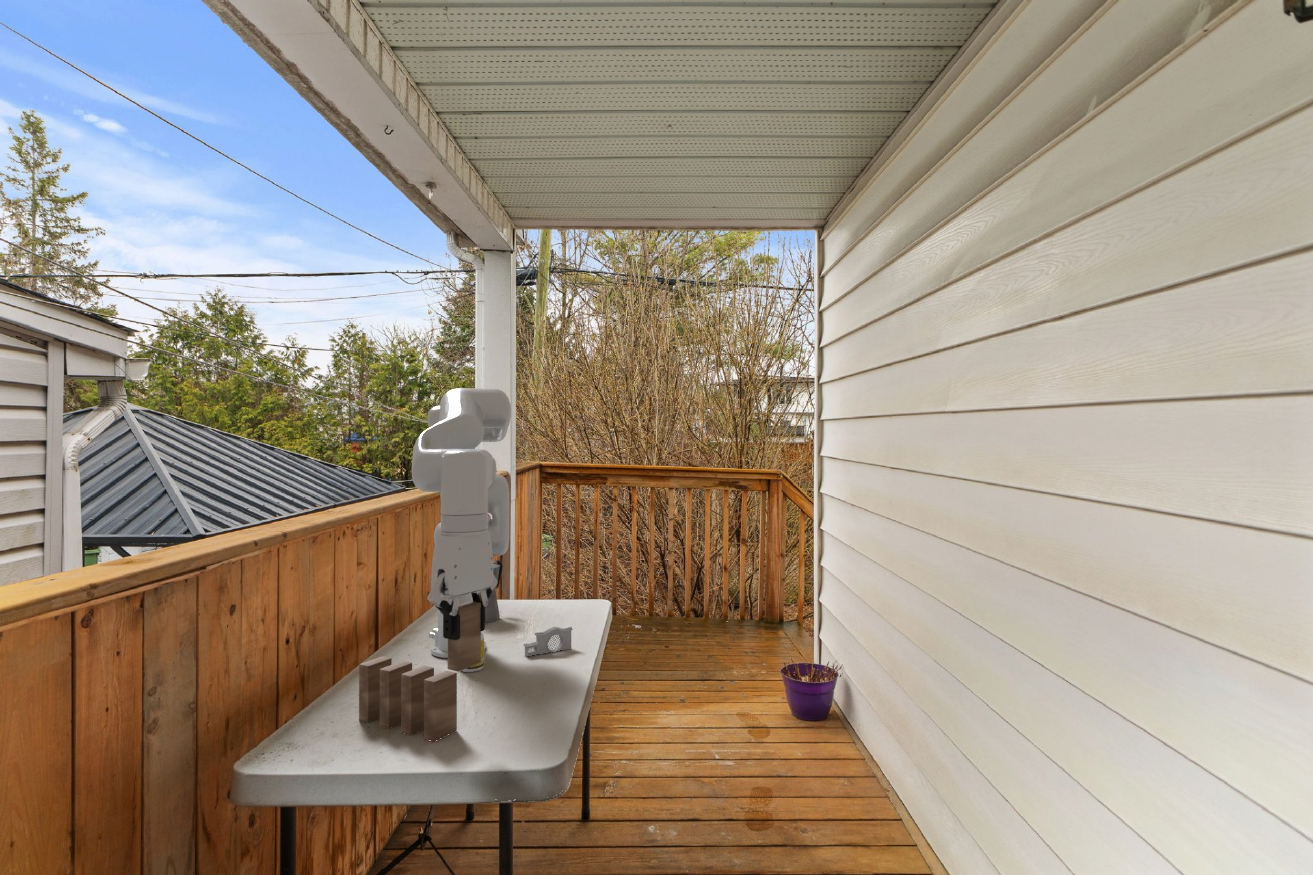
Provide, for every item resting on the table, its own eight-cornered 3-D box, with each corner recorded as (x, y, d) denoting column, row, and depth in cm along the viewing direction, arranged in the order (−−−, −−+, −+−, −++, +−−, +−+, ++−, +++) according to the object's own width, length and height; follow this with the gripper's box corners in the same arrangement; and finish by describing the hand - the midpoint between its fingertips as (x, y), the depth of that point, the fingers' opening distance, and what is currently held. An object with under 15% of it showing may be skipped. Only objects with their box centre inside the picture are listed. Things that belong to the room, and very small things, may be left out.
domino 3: (401, 732, 111) (401, 674, 111) (424, 722, 115) (424, 665, 116) (410, 735, 110) (411, 676, 110) (434, 724, 114) (434, 667, 114)
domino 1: (358, 720, 116) (359, 664, 116) (382, 710, 121) (382, 656, 121) (367, 722, 115) (368, 666, 115) (391, 712, 120) (391, 658, 120)
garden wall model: (525, 658, 150) (525, 632, 150) (523, 656, 152) (523, 630, 152) (573, 649, 157) (573, 624, 157) (569, 647, 158) (569, 623, 158)
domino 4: (423, 739, 108) (424, 679, 109) (446, 728, 113) (446, 670, 113) (434, 742, 107) (434, 682, 107) (456, 731, 112) (456, 672, 112)
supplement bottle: (488, 666, 145) (488, 622, 145) (474, 674, 140) (474, 628, 140) (468, 663, 147) (468, 620, 147) (453, 671, 141) (453, 626, 142)
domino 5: (447, 669, 106) (447, 607, 106) (470, 660, 110) (470, 601, 110) (458, 671, 105) (458, 609, 105) (480, 662, 109) (480, 602, 109)
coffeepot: (482, 627, 176) (482, 560, 176) (454, 623, 180) (454, 558, 180) (515, 613, 190) (514, 552, 191) (488, 610, 194) (488, 550, 194)
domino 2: (379, 726, 114) (379, 669, 114) (403, 716, 118) (403, 660, 118) (388, 729, 113) (388, 671, 113) (412, 718, 117) (412, 662, 117)
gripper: (484, 518, 117) (484, 619, 117) (407, 528, 102) (406, 644, 102) (516, 520, 114) (516, 624, 113) (441, 531, 99) (441, 651, 98)
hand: (464, 633), depth 108 cm, fingers closed on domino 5, 4 cm apart
